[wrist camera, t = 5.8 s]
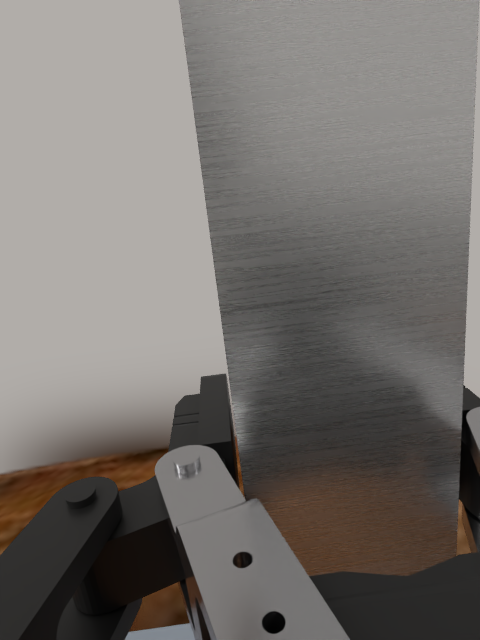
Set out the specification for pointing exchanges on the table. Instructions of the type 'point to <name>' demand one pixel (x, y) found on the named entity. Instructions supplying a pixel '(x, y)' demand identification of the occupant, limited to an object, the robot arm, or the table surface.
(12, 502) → the table surface
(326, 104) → the column
